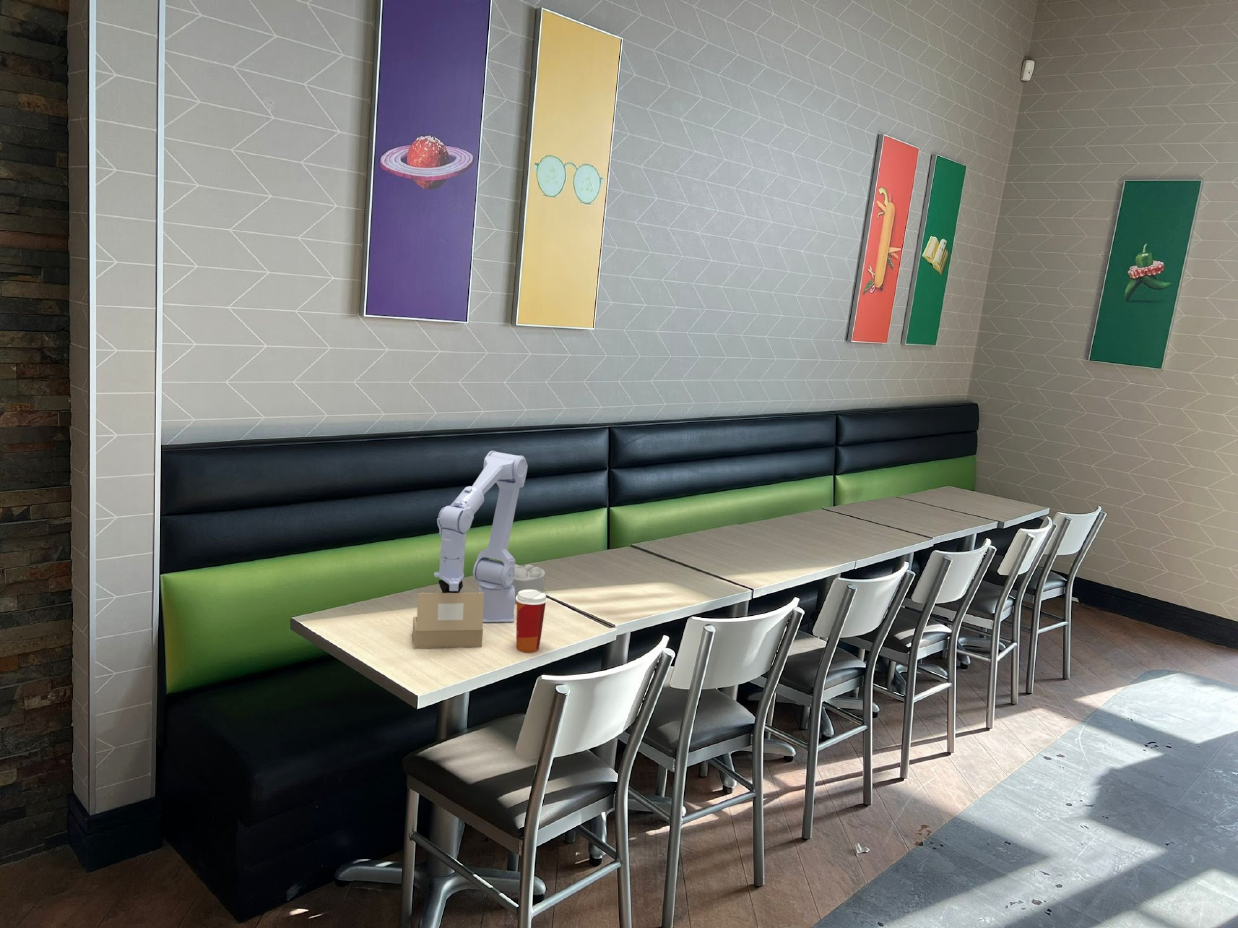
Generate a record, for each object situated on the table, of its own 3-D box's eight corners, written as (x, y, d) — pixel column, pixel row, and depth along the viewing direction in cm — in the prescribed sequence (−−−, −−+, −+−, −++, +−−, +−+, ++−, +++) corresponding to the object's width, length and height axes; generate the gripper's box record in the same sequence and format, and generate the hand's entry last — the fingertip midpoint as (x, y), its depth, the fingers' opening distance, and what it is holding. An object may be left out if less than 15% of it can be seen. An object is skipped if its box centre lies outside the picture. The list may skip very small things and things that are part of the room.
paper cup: (527, 639, 229) (531, 586, 227) (549, 649, 225) (554, 595, 222) (505, 647, 223) (508, 592, 221) (527, 657, 219) (531, 601, 216)
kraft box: (477, 632, 231) (478, 615, 230) (481, 646, 222) (482, 629, 222) (412, 633, 226) (413, 616, 225) (414, 648, 218) (415, 630, 217)
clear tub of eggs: (494, 596, 258) (496, 567, 257) (525, 586, 269) (527, 558, 267) (522, 606, 252) (524, 576, 251) (552, 596, 263) (554, 567, 261)
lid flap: (483, 592, 221) (484, 593, 220) (482, 629, 221) (482, 629, 221) (418, 592, 216) (418, 593, 216) (416, 630, 217) (416, 630, 216)
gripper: (432, 546, 224) (429, 599, 227) (438, 565, 211) (434, 620, 213) (461, 547, 226) (458, 599, 229) (468, 565, 213) (465, 620, 215)
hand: (448, 609), depth 221 cm, fingers closed
